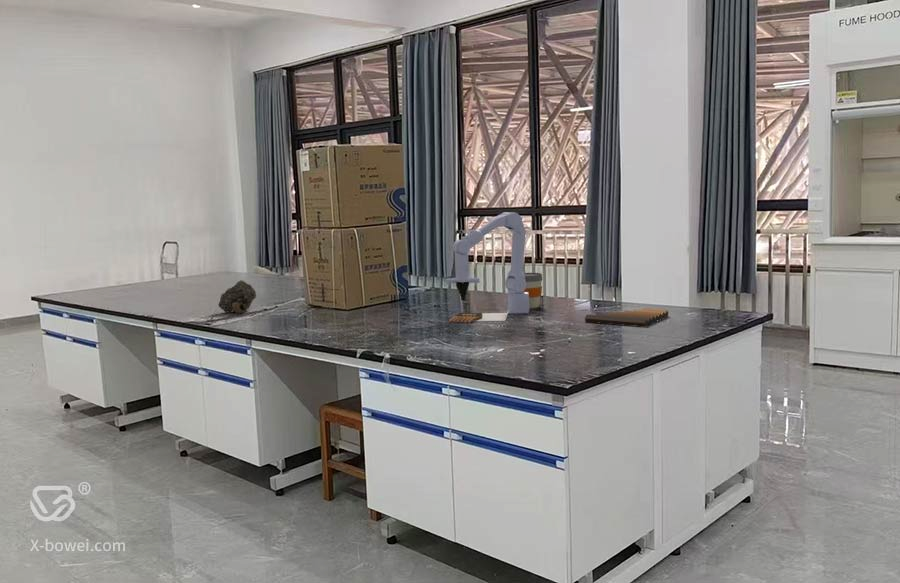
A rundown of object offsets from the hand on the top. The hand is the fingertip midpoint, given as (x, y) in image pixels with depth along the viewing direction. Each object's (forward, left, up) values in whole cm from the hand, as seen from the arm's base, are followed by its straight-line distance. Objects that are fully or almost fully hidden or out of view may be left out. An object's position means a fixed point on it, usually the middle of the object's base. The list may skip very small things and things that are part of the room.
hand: (463, 299), depth 316 cm
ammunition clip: (-3, +1, -6) cm, 7 cm away
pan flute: (-68, +9, -9) cm, 69 cm away
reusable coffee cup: (-27, -27, -8) cm, 39 cm away
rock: (+114, -26, -8) cm, 117 cm away
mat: (-12, 0, -8) cm, 14 cm away
